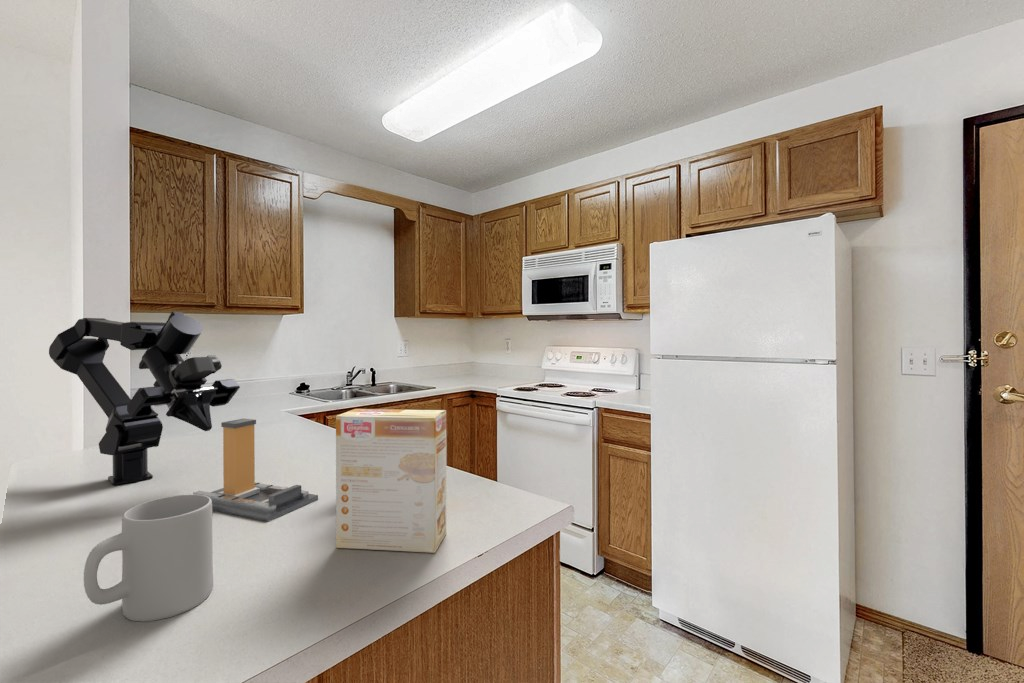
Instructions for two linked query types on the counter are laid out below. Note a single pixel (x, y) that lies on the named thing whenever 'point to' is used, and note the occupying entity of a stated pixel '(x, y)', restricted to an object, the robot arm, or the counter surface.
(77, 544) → the counter surface
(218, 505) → the plate
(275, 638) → the counter surface
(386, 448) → the coffeecake box
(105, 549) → the mug
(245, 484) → the fader tab
